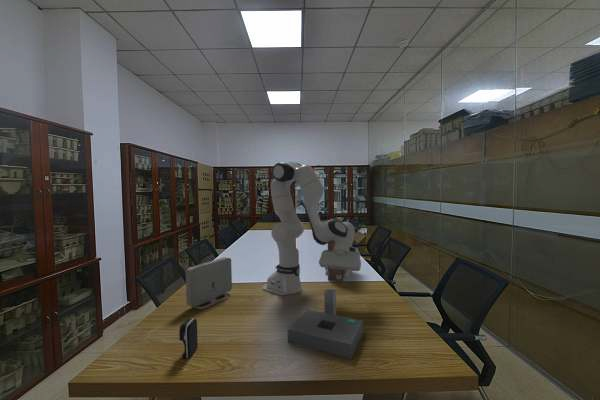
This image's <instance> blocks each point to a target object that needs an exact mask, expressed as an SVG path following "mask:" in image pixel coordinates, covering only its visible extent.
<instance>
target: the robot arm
mask: <svg viewBox="0 0 600 400" xmlns="http://www.w3.org/2000/svg"><path fill="white" fill-rule="evenodd" d="M271 173H272V174H271V175H272V177H273V179H272V180H271V182H270V195H271V201H272V206H273V210H274V213H275V214H276V216H278V218H279V220H280V222H278V223H276V225H274V226H273V227H272V229H271V238H272V239H273V241H274V242H275V243H276V245H277V250H278V261H279V264H277V265H276V266H275V269H276V271H275V272H273V273H271V274H270V275H269V276H268V277H267V279H266V283H265V284H264V285H263V286H262V290H263V291H265V292H269V293H272V294H276V295H279V296H286V295H292V294H297V293H301V291H302V290H303V287H302V283H301V278H300V273H301V269H300V268H301V267H300V266H301V265H300V255H299V253H300V252H299V249H298V248H297V246H296V244H295V243H296V242H295V239H297V238H300V237H301V236H302V234H304V232H305V226H304V223H303V222H302V221H301V220H300V219H299V217H298V214H297V212H296V209H295V207H294V202H293V198H292V197H293V196H292V193H291V185H294V184H296V183H297V184H298V187H299V188H300V192H301V193H302V196H303V206H304V210H305V213H306V216H307V218H308V221H309V225H310V227H311V232H312V237H313V240H314V241H315V243H317V244H318V245H320V246H325V245H328V243H329V242H330V241H332V240H334V241H335V246H334V250H328V249H324V250H323V251H322V252H321V254H320V258H319V260H318V265H319V266H320V267H321V268H324V269H325V273H324V274H325V276H326V277H328V276H329V274H330V273H329V271H328V269H329V268H333V269H342V270H346V271H347V272H345V275H344V278H345V279H349V276H350V275H351V274H352V273H353V272H359V271H360V270H361V268H362V260H361V253H360V251H359V249H358V248H356V247H354V246H353V243H354V242H355V241H354V240H355V234H356V233H355V231H356V229H355V226H354V225H353V223H351V222H349V221H341V220H339V219H336V218H331V219H329V220H328V221H325V222H324V223H322V220H321V217H320V214H319V212H318V206H319V203H320V201H321V199H322V197H323V196H324V186H323V184H322V182H321V180H320V178H319V176H318V175H317V173H316V171H315V170H314V169H313V167H312V166H311V165H309V164H303V165H302V164H300V163H298V162H293V161H280V162H276V164H274V165H273V167H272V170H271Z"/></svg>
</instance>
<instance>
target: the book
mask: <svg viewBox="0 0 600 400" xmlns="http://www.w3.org/2000/svg"><path fill="white" fill-rule="evenodd" d="M334 246H335V241H334V240H332V241H330V242H329V243H327V250H334ZM327 271H329V273H330V274H329V276H327V280H328V281H333V282H334V281H335V282H343V281H344V278H345V273H347V272H346V271H347V270H342V269H333V268H329V269H328V270H327Z"/></svg>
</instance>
